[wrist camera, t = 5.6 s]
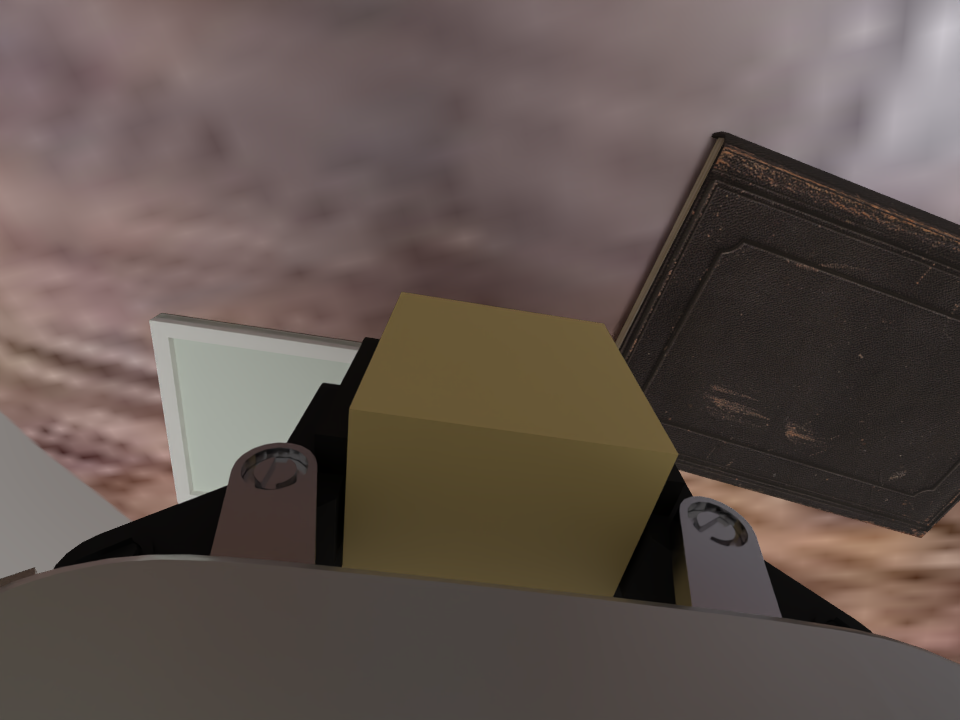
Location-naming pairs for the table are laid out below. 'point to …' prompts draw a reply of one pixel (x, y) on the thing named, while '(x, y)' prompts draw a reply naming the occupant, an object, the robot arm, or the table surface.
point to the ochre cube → (500, 450)
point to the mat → (234, 391)
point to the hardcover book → (806, 340)
